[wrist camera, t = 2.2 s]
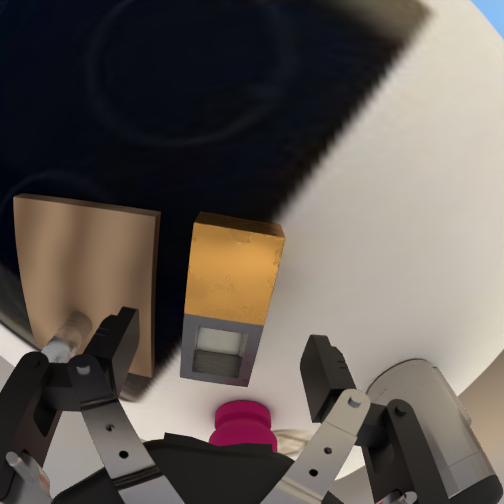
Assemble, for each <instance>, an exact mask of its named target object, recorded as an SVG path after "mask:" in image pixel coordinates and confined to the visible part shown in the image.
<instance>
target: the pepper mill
mask: <svg viewBox="0 0 504 504" xmlns="http://www.w3.org/2000/svg"><path fill="white" fill-rule="evenodd" d="M215 429H216V430H215V431H214V432H213V433H212V435H211V436H210V439H209V443H211V444H214V445H217V446H224V445H233V444H240V443H261V444H272V449H273V451H275V452H277V439H276V437H275V435H274V434H273V432H272V431H270V429H271V418H270V413H269V411H268V410H267V408H266V407H264V406H263V405H261V404H258V403H256V402H251V401H234V402H230V403H227V404H224V405H223V406H221V407H220V408H219V409H218V410H217V412H216V415H215Z"/></svg>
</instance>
